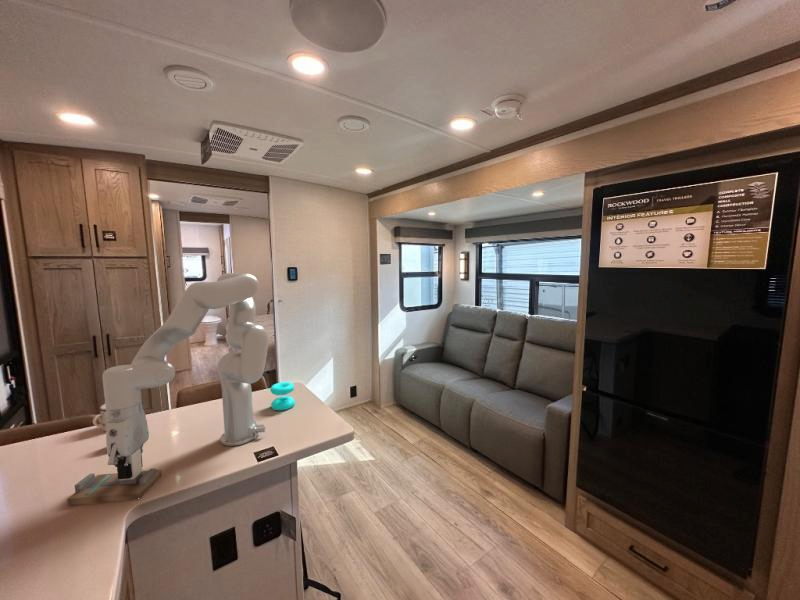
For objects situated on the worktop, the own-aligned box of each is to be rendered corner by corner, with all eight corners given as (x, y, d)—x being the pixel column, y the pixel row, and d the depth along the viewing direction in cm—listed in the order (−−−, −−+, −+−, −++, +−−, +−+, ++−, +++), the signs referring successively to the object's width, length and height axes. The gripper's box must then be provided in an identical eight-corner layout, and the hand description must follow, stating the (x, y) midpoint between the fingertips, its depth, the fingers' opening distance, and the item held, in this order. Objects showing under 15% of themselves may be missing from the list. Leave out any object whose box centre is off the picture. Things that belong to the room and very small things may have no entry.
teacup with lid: (123, 419, 133) (120, 392, 132) (137, 422, 130) (135, 394, 129) (87, 433, 122) (83, 403, 121) (102, 437, 119) (99, 407, 118)
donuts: (293, 387, 140) (268, 390, 137) (294, 410, 141) (269, 412, 138) (294, 380, 149) (271, 382, 147) (295, 401, 150) (273, 403, 148)
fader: (143, 476, 93) (140, 447, 92) (135, 484, 89) (132, 455, 88) (128, 477, 92) (125, 449, 91) (119, 485, 89) (116, 456, 88)
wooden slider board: (161, 475, 96) (160, 463, 96) (139, 499, 87) (137, 485, 86) (98, 481, 94) (96, 468, 94) (68, 506, 84) (66, 491, 84)
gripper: (117, 423, 81) (124, 492, 83) (157, 397, 97) (162, 455, 99) (84, 426, 80) (92, 495, 82) (130, 399, 96) (135, 457, 98)
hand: (130, 472), depth 90 cm, fingers closed on fader, 3 cm apart
